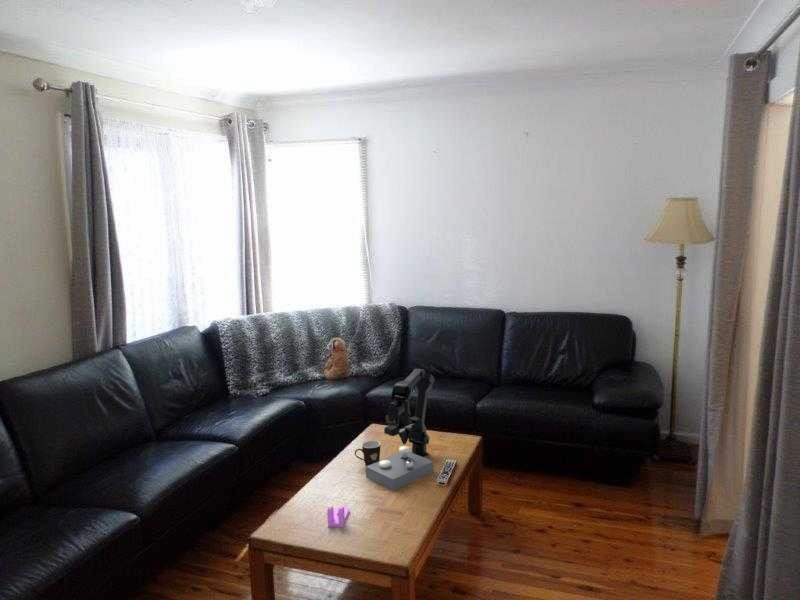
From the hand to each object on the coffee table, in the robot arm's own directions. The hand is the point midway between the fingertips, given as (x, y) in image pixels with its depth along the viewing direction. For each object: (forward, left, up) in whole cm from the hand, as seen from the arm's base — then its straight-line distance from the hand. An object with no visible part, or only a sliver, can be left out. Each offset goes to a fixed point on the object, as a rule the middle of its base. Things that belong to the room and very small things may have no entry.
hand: (404, 444), depth 264 cm
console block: (+6, +3, -12) cm, 13 cm away
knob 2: (0, 0, -6) cm, 6 cm away
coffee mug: (+9, -15, -12) cm, 21 cm away
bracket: (+47, +13, -12) cm, 50 cm away
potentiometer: (+6, +10, -7) cm, 13 cm away
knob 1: (+12, 0, -9) cm, 15 cm away
